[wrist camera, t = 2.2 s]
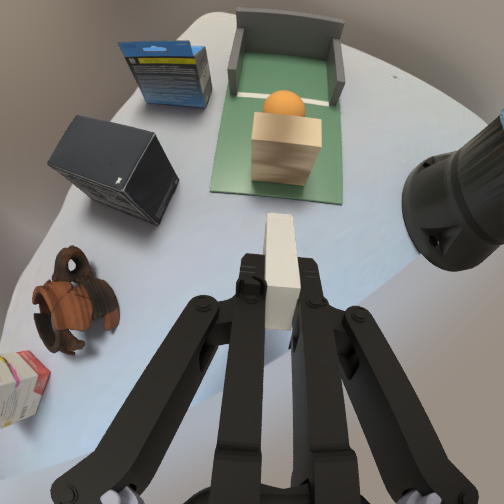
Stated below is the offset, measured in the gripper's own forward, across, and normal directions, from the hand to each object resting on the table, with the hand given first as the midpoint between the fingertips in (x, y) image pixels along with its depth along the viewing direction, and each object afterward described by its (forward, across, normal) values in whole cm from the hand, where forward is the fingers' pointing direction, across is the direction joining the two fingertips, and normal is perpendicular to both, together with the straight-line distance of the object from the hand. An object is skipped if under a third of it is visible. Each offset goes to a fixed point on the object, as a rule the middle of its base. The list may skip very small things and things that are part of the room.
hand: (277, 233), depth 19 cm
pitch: (+24, +1, +4) cm, 24 cm away
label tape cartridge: (+25, -13, +5) cm, 29 cm away
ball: (+22, +1, +3) cm, 22 cm away
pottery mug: (+6, -20, -15) cm, 26 cm away
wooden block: (+17, +1, -2) cm, 17 cm away
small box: (+16, -16, -5) cm, 23 cm away
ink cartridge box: (-3, -29, -24) cm, 38 cm away
